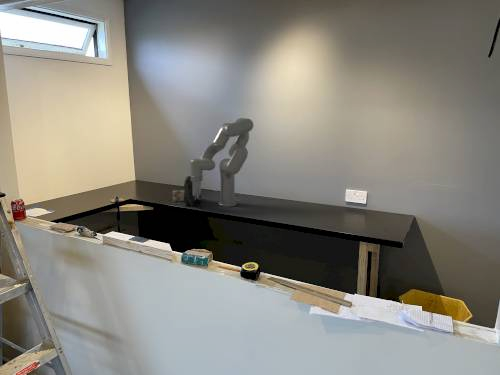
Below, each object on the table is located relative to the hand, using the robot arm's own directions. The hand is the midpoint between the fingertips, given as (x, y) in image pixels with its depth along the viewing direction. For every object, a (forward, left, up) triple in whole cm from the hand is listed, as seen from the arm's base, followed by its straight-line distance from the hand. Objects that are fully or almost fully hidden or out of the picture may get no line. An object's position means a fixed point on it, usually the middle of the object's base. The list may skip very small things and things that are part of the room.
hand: (197, 205), depth 229 cm
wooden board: (+5, -22, -2) cm, 22 cm away
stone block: (+1, -12, -2) cm, 12 cm away
